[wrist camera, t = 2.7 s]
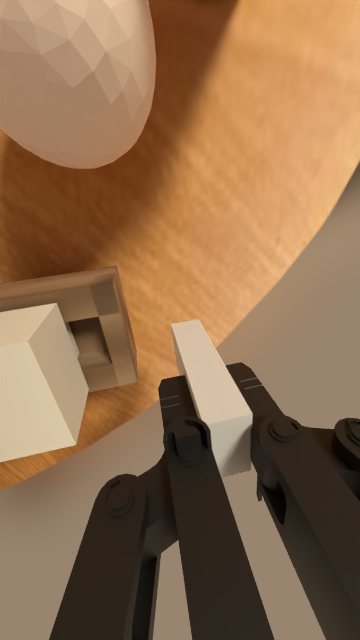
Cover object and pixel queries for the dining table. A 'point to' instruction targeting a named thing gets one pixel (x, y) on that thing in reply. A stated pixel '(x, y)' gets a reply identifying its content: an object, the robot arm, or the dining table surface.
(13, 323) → the rider
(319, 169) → the dining table surface
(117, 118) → the egg
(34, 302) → the beam
